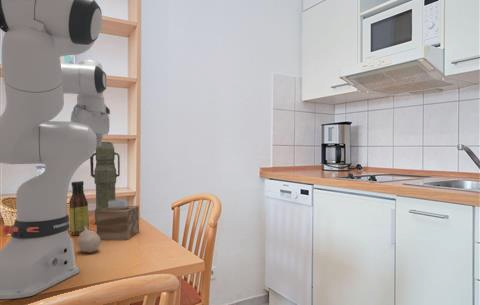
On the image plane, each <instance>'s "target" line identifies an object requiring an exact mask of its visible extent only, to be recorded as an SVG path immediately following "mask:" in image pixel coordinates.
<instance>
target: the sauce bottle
mask: <svg viewBox="0 0 480 305" xmlns="http://www.w3.org/2000/svg"><path fill="white" fill-rule="evenodd" d="M84 183H85V182H84V181H83V180H77V181H71V190H72V192H71V193H72V195H71V197H70V198H69V227H70V232H71V234H70V235H71V236H76V237H77V236H78V237H79V235H80V233H81V232H83V231H84V230H85V228H84V226H86V227H87V229H88V230H89V231H90V220H89V218H90V216H89V203H88V200H87V198H86V195H85V192H84Z"/></svg>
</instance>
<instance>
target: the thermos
mask: <svg viewBox="0 0 480 305" xmlns="http://www.w3.org/2000/svg"><path fill="white" fill-rule="evenodd" d="M94 156H95V162H96V163H95V167H94ZM115 156H117V168H116V165H115V164H116V163H115ZM120 158H121V156H120V154H119V153H118V152H115V146H114V144H113V142H110V141H102V142H101V147H96V149H95V152H94V153H93V155H92V156H91V157H90V158H89V162H90V163H89V164H90V176H91V177H92V178H93V179H94V184H95V210H94V220H95V223H94V224H95V225H96V226H97V217H96V211H99V210H101V209H104V208H107V207H108V201H110V200H116V183H117V178H118V177H120V173H121V172H120V171H121V170H120V168H121V167H120V164H121V162H120Z"/></svg>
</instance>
